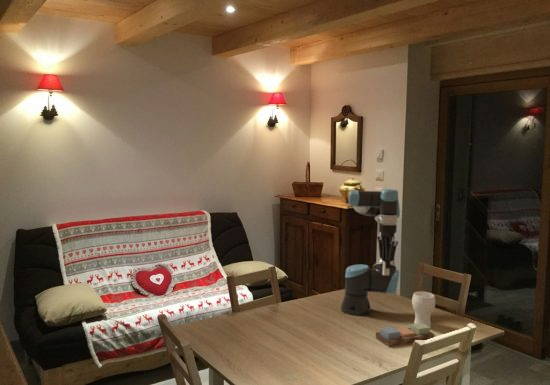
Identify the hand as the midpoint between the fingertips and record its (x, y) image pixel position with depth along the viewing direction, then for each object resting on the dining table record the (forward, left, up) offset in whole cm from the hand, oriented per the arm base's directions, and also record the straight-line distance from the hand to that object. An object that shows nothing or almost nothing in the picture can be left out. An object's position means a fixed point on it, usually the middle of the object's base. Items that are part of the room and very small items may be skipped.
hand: (385, 274), depth 221 cm
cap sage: (+11, +12, -24) cm, 29 cm away
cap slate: (+11, -4, -24) cm, 27 cm away
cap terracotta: (+11, +4, -26) cm, 28 cm away
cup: (0, +22, -27) cm, 35 cm away
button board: (+11, +4, -26) cm, 29 cm away
